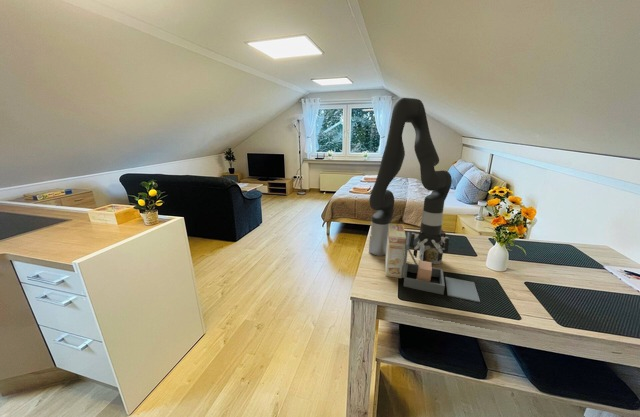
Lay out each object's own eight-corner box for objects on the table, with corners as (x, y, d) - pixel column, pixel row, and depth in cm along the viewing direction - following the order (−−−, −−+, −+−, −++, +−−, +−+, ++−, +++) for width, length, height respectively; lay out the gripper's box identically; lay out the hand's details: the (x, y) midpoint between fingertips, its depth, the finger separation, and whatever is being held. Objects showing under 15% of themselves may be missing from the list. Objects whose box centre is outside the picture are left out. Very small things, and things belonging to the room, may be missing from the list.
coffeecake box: (402, 278, 108) (406, 237, 102) (385, 276, 110) (388, 236, 104) (400, 261, 122) (403, 224, 116) (385, 259, 123) (388, 223, 117)
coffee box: (436, 257, 125) (441, 228, 120) (441, 264, 119) (446, 233, 114) (418, 257, 126) (422, 227, 121) (421, 263, 120) (426, 232, 115)
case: (400, 285, 103) (405, 244, 97) (403, 269, 115) (407, 232, 109) (443, 294, 97) (450, 251, 91) (441, 277, 109) (447, 237, 103)
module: (416, 285, 104) (418, 268, 101) (416, 276, 110) (418, 260, 107) (429, 287, 102) (431, 270, 99) (429, 278, 108) (431, 262, 105)
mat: (447, 295, 97) (447, 294, 97) (444, 277, 108) (445, 276, 108) (479, 302, 93) (480, 301, 93) (473, 283, 104) (474, 282, 104)
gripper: (411, 222, 97) (408, 259, 101) (452, 227, 91) (446, 266, 96) (412, 216, 103) (409, 251, 108) (450, 220, 98) (445, 257, 103)
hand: (426, 258), depth 102 cm, fingers open, 8 cm apart
